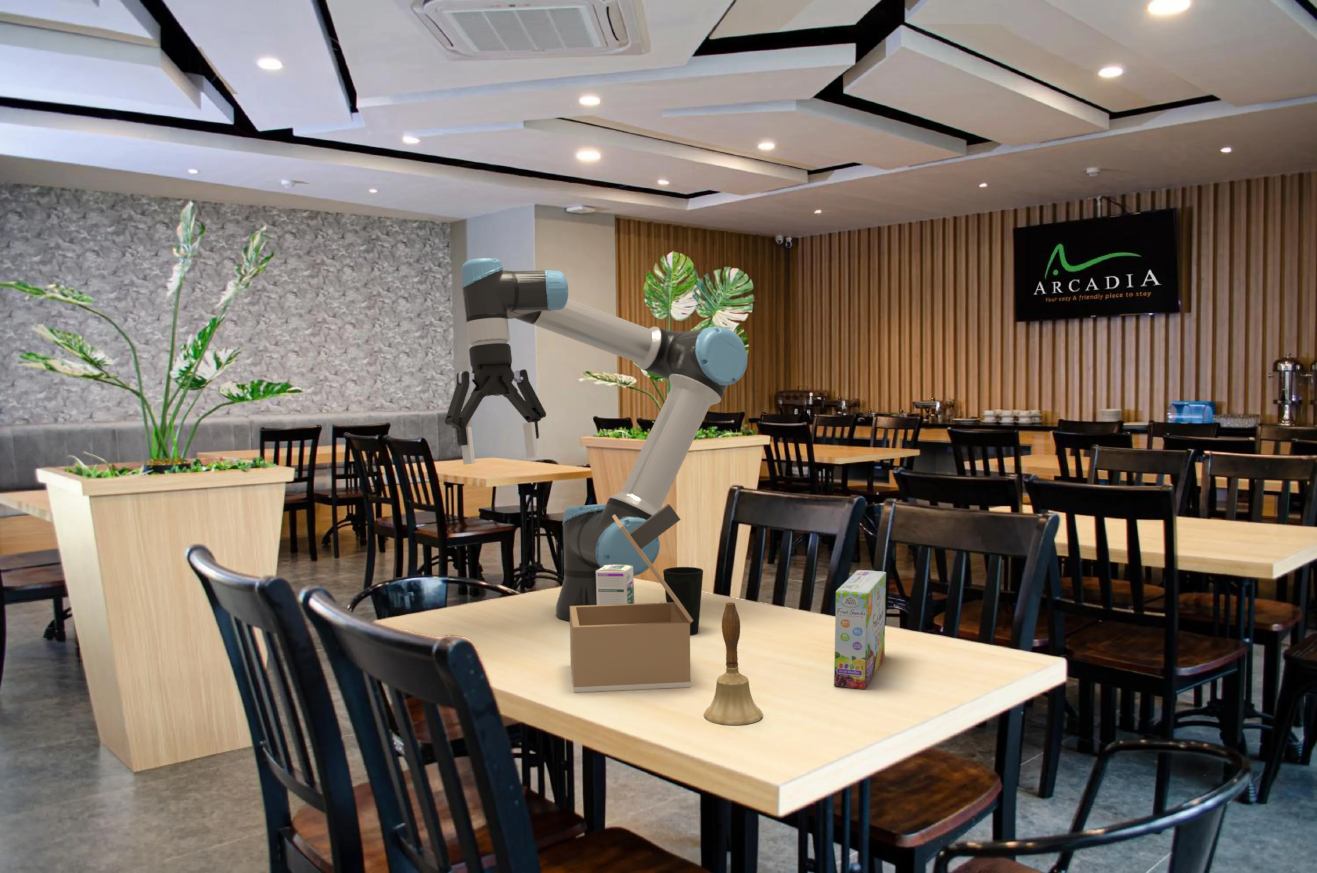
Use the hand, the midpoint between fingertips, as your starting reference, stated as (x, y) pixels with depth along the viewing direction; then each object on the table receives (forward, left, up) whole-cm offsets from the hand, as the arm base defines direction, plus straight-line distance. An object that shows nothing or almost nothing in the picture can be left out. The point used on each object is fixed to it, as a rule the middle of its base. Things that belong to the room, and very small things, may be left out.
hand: (501, 460), depth 179 cm
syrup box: (-17, +12, -34) cm, 40 cm away
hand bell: (-11, +56, -34) cm, 67 cm away
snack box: (-42, +49, -34) cm, 73 cm away
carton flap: (-12, +32, -16) cm, 38 cm away
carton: (-9, +30, -34) cm, 46 cm away
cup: (-33, +10, -34) cm, 48 cm away
